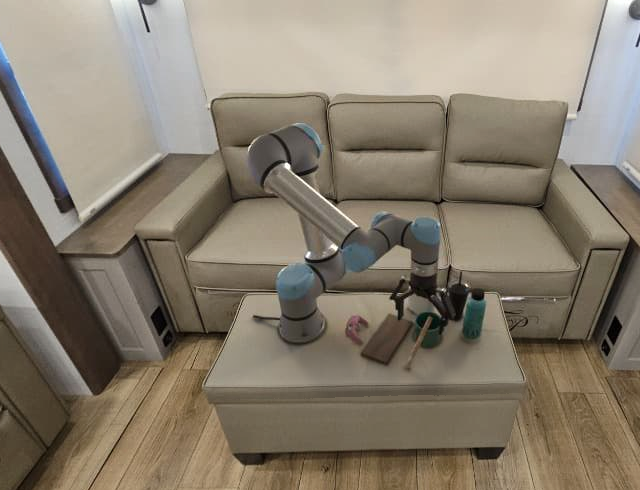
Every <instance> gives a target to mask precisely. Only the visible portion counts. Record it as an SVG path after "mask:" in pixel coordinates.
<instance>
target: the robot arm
mask: <svg viewBox="0 0 640 490" xmlns="http://www.w3.org/2000/svg"><path fill="white" fill-rule="evenodd" d="M322 154H323V143H322V140H321V138H320V136H319V135H318V133H317V132H316V130H314V129H313V128H312V127H311V126H309V125H308V124H306V123H303V122H296V123H292V124H287V125H285V126H283V127H281V128H278V129H276V130H273V131H270V132H268V133H266V134H262V135H259V136H258V137H256V138H255V139H253V141H252V142H251V143H250V145H249V146H248V149H247V152H246V164H247V169H248V171H249V173H250V176H251V178H252V179H253V180H254V182H255V183H256V184H257V185H258V186H259V187H260V188H261V189H262V190H263V191H265V192H266V193H267V194H274V195H275V196H276V197H278V198H279V199H280V200H281V201H282V202H284V203H285V204H286V205H287V206H289V207H290V208H291V209H292V210H293V211H295V212H296V216H297V220H298V223H299V224H298V225H299V226H300V230H301V233H302V234H301V235H302V238H303V241H304V244H305V249H304V251H303V258H304V263H303V262H297V263H296V262H295V264H292V263H291V264H289V265H287V266H285V267H283V268H282V269H280V271H279V273H278V274H277V276H276V279H275V285H276V287H275V290H276V294H277V297H278V302H279V307H280V312H281V314H280V317H275V316H260V315H257V314H253V315H252V318H253V319H258V320H267V321H269V320H270V321H279V322H278V331H279V335H280V336H281V338H282V339H283V340H284V341H285V342H288V343H291V344H298V345H300V344H307V343H310V342H312V341H314V340H316V339H317V338H319V337H320V336H321V335H322V334H323V332H324V330H325V328H326V320H325V317H324V315H323V314H322V312H321V310H320V308H319V307H318V301H317V299H318V298H319V297H321V295H323V294H324V293H325V292H327V291H328V290H329V289H330V288H332V287H333V286H334V285H335V284H337V283H339V282H340V281H342V279H343V278H344V277H345V276H346V275H347V274H348V272H349V271H351V272H354V273H358V274H359V273H363V272H365V271H366V270H368V269H369V268H371V267H373V266H374V265H375V264H376V263H377V262H378V261H379V260H380V259H381V258H382V257H384V256H385V255H386V254H388V253H389V252H390V251H391V250H393V248H395V247H397V246H399V247H401V248H404V249H408V250H409V251H410V270H409V271H410V272H409V278H408V276H407V275H406V274H403V275H402V276H401V278H400V279H399V282H398V285H397V286H396V288H395V289H394V290H393V292H392V293H391V294H390V296H389V297H388V299H389V301H394V303H395V304H394V308H395V311H397V316H398V320H399V321H400V320H401V319H402V318H404V316H405V315H404V314H405V300H406V299H407V298H408V297H409V296H411V295H413V294H416V296H419V297H423V298H425V299H426V298H427V299H428V300H429V302H431V303H432V304H433V305H434V309H436V311H437V312H438V313H439V316H440V317H441V318H440V327H439V335H441V336H442V335H443V333H444V331H445V328H446V327H447V326H448V325H449V321H454V320H453V318H454V316H455V315H456V313H455V310H454V308H453V306H452V303H451V301H450V299H449V293H448V287H446V286H443V288H441V287H439V286H438V285H437V284H438V271H439V257H440V256H439V255H440V246H441V239H442V234H441V230H442V226H441V223H440V222H439V220H438V219H436V218H434V217H432V216H425V215H423V216H422V215H421V216H418V217H416V218H415V219H413V220H412V219H408V218H406V217H404V216H400V215H398V214H396V213H394V212H391V213H390V212H387V211H384V210H383V211H379V212H378V213H376V214H375V216H374V218H372V220H371V225H370V229H369V230H368V231H365V229H363V228H362V227H361V226H359V225H358V224H357V223H356V222H354V221H353V220H352V219H350V217H348V216H347V215H346V214H344V213H343V211H341V210H340V209H339V208H337V207H336V206H335V205H334V204H332V203H331V202H330V201H329V200H327V198H325V197H324V196H322V194H321V192H320V188H319V183H318V180H317V175H316V174H317V173H318V172H319V169H320V167H319V163H318V159H320V157H321V156H322ZM407 284H408V287H409V286H410V287H411V288H410V289H409V288H408V289H407V290H405V291H404V292H402V293H400V291H401V290H402V288H403V287H404V286H406V285H407ZM399 293H400V294H399ZM398 294H399V295H398ZM432 295H433V296H432ZM431 296H432V297H431Z"/></svg>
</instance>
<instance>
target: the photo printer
mask: <svg viewBox="0 0 640 490" xmlns="http://www.w3.org/2000/svg"><path fill="white" fill-rule="evenodd" d="M410 288H411V287H410V286H409V285H408V289H410ZM432 296H433V295H432ZM432 296H431V297H432ZM407 298H408V300H407V309H409V310H410V311H412V312H413V313H414V314H416V316H417V315H418V314H419V313H421V312H425V311H429V312H434V313H435V307H434V305H433V304H432V303H431V302H429V300H428V299H427V298H426V299H425V298H423V297H419V296H416V294H413V295H411V296H409V297H407Z"/></svg>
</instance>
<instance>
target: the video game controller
mask: <svg viewBox="0 0 640 490" xmlns="http://www.w3.org/2000/svg"><path fill="white" fill-rule="evenodd" d="M360 325H362V326H365V327H367V326H369V321H368V320H367V319H366V318H364V317H363V316H362V315H360V314H357V313H355V314H351V315H350V317H349V318H348V320H347V323H346V327H345V328H344V334H345V336H346V337H347V338H349V339H350V340H351V341H352V342H354V343H356V344H360V345H361V344H362V343H363V339H362V338H360V337H359V336H358V335H357V334H358V333H357V331H359V330H360Z"/></svg>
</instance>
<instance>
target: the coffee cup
mask: <svg viewBox="0 0 640 490" xmlns="http://www.w3.org/2000/svg"><path fill="white" fill-rule="evenodd" d="M429 316H430V317H432V318H433V319H432V321H431V323H430V325H429V327H428V329H427V331H426V334H425V336H424V338H423V340H422V342H421V344H420V346H419V347H422V348H433V347H436V346H437V345H439V343H441V340H442V335H439V327H440V318H441V317H442V316H441V315H440V314H438V313H437V312H435V311H434V312H429V311H425V312H421V313H419V314H418V315H417V314H416V316H415V317H414V323H413V325H414V326H413V339H414V341H415V343H416V342H417V340H418V338H419V336H420V334H421V332H422V330H423V327H424V325H425V323H426V321H427V319H428V317H429Z"/></svg>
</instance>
